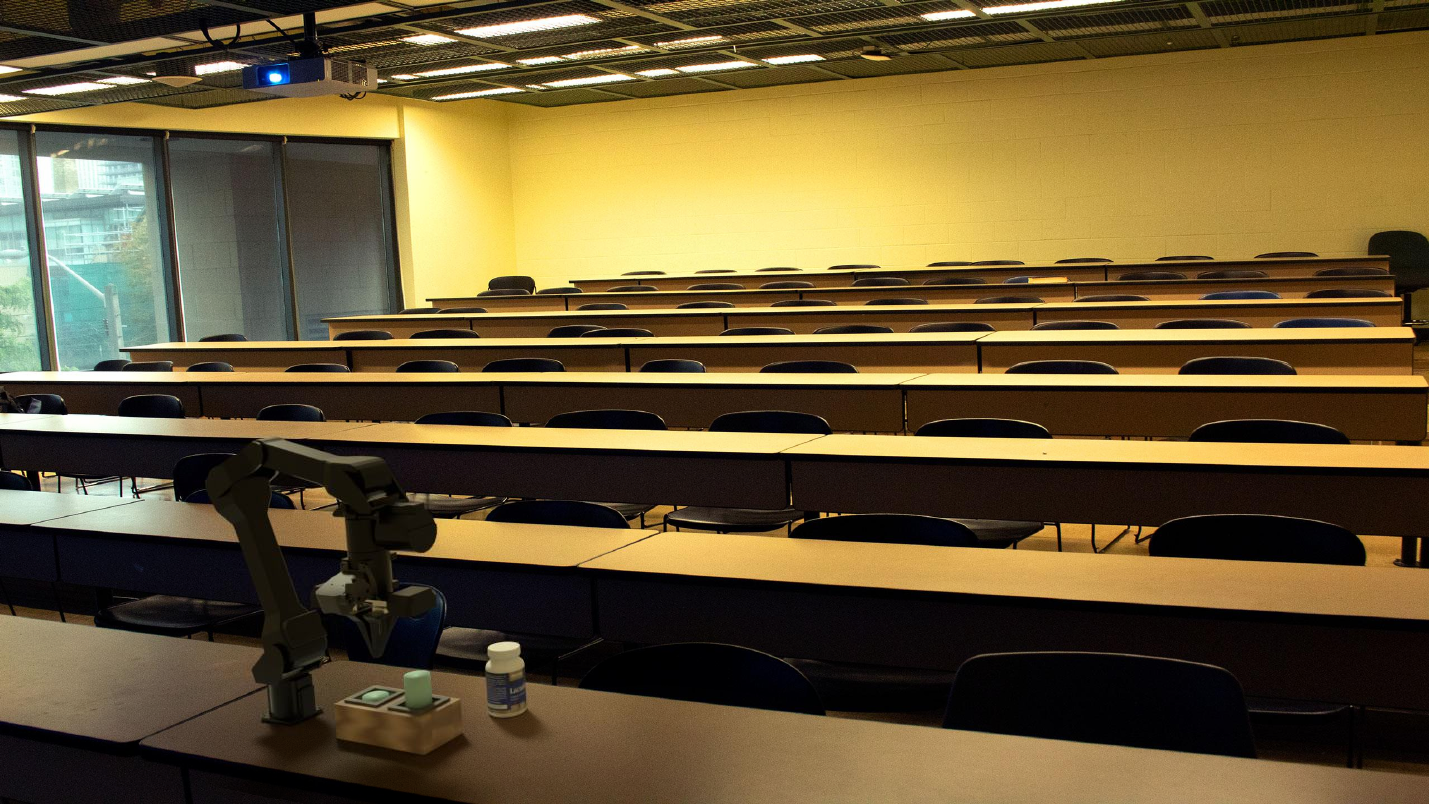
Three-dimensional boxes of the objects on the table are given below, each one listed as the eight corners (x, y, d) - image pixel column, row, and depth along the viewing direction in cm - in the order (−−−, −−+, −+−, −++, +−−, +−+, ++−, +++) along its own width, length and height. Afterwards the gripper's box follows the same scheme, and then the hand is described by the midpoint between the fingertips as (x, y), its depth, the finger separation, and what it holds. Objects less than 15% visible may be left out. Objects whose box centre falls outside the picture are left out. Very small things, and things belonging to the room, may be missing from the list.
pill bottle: (518, 719, 163) (514, 652, 162) (481, 718, 164) (477, 651, 163) (532, 704, 169) (528, 640, 168) (497, 703, 170) (492, 639, 169)
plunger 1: (359, 733, 160) (356, 698, 160) (377, 724, 163) (375, 689, 163) (378, 737, 159) (376, 701, 158) (396, 727, 162) (394, 692, 161)
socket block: (336, 738, 159) (333, 701, 159) (377, 717, 166) (374, 682, 166) (424, 755, 152) (421, 716, 151) (462, 733, 159) (460, 696, 159)
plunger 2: (400, 713, 156) (397, 677, 156) (418, 704, 159) (415, 669, 159) (420, 717, 155) (418, 680, 154) (438, 708, 158) (435, 672, 157)
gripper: (275, 557, 155) (285, 667, 156) (377, 566, 146) (387, 683, 148) (335, 539, 165) (344, 643, 166) (435, 547, 156) (443, 656, 158)
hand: (377, 656), depth 159 cm, fingers closed
